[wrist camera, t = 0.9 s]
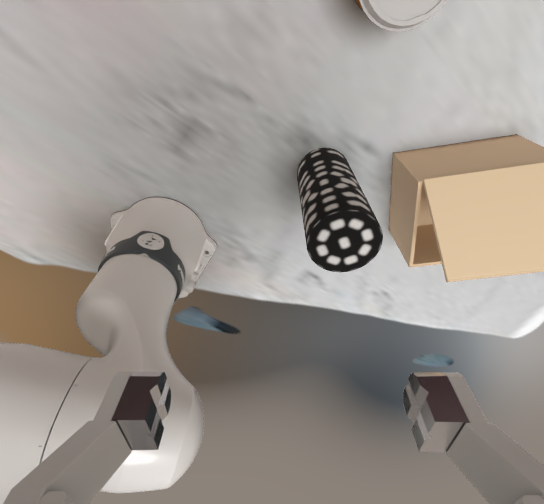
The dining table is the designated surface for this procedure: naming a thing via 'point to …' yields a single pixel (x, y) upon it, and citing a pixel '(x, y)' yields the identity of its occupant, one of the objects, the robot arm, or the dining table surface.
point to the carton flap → (489, 221)
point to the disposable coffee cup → (400, 12)
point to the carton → (439, 163)
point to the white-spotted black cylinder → (336, 213)
